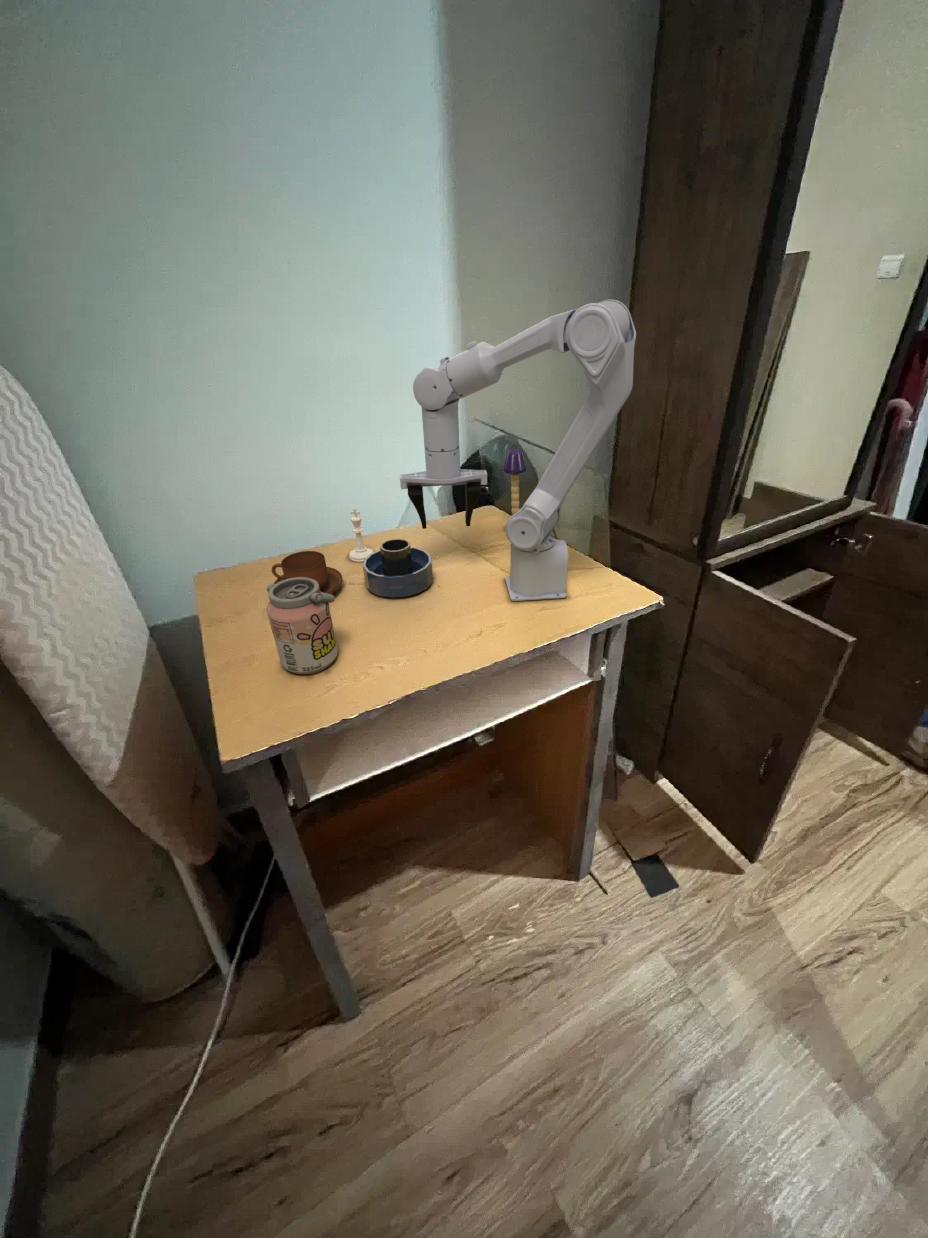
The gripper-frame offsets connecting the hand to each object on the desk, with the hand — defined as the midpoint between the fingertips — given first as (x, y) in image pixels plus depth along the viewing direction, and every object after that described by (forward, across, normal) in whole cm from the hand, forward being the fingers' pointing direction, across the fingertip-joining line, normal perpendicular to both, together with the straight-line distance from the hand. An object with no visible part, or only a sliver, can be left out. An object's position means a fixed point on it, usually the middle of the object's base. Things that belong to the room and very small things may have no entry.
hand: (446, 525), depth 93 cm
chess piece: (+10, +17, -9) cm, 21 cm away
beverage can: (+10, +21, +24) cm, 33 cm away
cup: (+9, +9, +3) cm, 13 cm away
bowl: (+9, +9, +3) cm, 13 cm away
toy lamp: (+10, -15, -18) cm, 26 cm away
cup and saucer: (+10, +25, +4) cm, 27 cm away
